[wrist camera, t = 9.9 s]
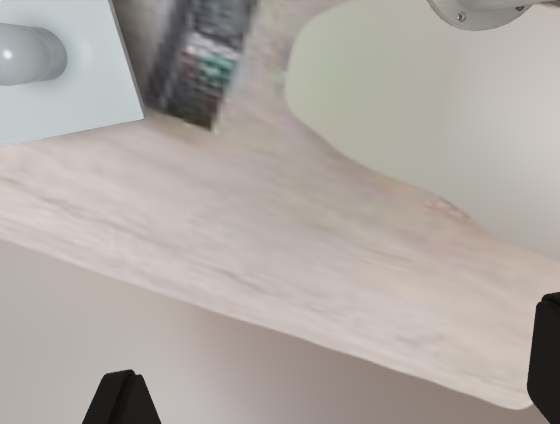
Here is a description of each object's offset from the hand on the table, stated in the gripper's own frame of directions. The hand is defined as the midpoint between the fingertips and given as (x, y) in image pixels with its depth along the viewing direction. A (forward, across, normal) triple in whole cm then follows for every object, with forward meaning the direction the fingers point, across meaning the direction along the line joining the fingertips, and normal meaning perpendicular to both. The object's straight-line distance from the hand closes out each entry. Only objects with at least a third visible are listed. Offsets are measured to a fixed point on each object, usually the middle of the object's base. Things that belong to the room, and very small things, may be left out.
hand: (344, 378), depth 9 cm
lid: (+24, +15, -9) cm, 30 cm away
